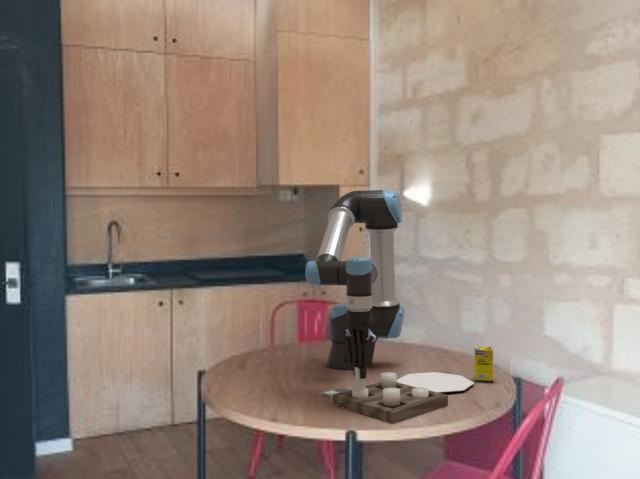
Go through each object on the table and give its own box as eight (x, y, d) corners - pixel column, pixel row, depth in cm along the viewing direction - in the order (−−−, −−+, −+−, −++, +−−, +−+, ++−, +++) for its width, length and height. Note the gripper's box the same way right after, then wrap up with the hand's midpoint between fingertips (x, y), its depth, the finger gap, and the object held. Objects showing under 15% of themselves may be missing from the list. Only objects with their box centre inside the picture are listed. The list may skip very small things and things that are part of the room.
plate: (455, 400, 204) (455, 395, 204) (386, 389, 216) (385, 385, 216) (481, 382, 224) (481, 377, 224) (416, 373, 236) (416, 369, 236)
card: (320, 394, 210) (320, 392, 210) (341, 389, 216) (341, 386, 216) (340, 400, 203) (340, 398, 203) (361, 394, 209) (361, 392, 209)
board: (332, 404, 199) (332, 394, 199) (387, 389, 215) (387, 380, 215) (393, 423, 181) (393, 412, 181) (448, 405, 197) (448, 395, 197)
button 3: (379, 403, 190) (379, 389, 189) (391, 400, 193) (390, 386, 193) (392, 407, 186) (392, 393, 186) (403, 403, 189) (403, 389, 189)
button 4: (408, 402, 198) (408, 389, 198) (419, 399, 201) (419, 386, 201) (421, 406, 194) (421, 392, 194) (431, 403, 198) (431, 389, 197)
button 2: (377, 386, 207) (377, 374, 207) (388, 384, 210) (388, 371, 210) (389, 389, 204) (389, 376, 203) (399, 386, 207) (399, 374, 207)
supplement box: (493, 383, 221) (493, 350, 221) (474, 382, 222) (474, 349, 222) (492, 378, 227) (492, 346, 226) (474, 377, 228) (474, 346, 228)
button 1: (348, 402, 199) (348, 389, 199) (360, 399, 202) (360, 386, 202) (360, 406, 195) (360, 392, 195) (371, 402, 199) (371, 389, 198)
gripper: (334, 308, 200) (335, 386, 201) (366, 313, 190) (367, 395, 191) (352, 306, 205) (353, 382, 206) (384, 310, 195) (384, 390, 196)
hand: (360, 388), depth 199 cm, fingers closed
